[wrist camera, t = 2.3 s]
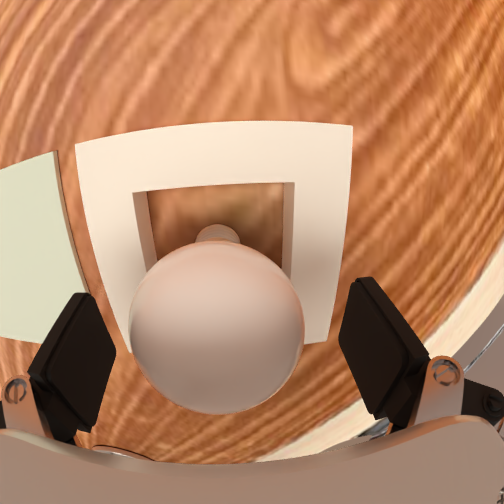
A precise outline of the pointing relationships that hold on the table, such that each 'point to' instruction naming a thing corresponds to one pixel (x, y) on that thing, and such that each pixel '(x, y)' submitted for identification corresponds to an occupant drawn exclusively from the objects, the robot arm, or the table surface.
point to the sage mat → (35, 249)
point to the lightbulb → (216, 325)
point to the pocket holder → (218, 173)
